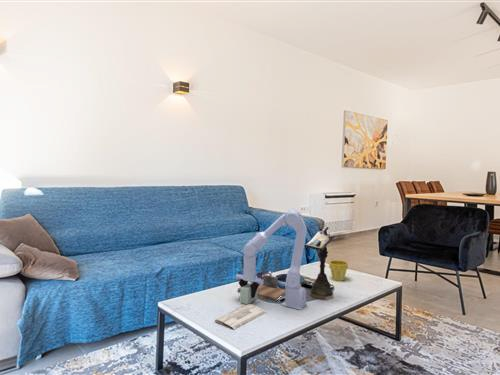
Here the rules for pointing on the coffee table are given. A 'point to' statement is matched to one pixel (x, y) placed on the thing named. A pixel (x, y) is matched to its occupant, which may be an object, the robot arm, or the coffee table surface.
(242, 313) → the newspaper
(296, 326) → the coffee table surface
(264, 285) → the shelf board
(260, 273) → the game card
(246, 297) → the pale green rectangular block
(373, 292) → the coffee table surface
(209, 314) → the coffee table surface
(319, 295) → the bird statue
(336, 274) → the plant pot
